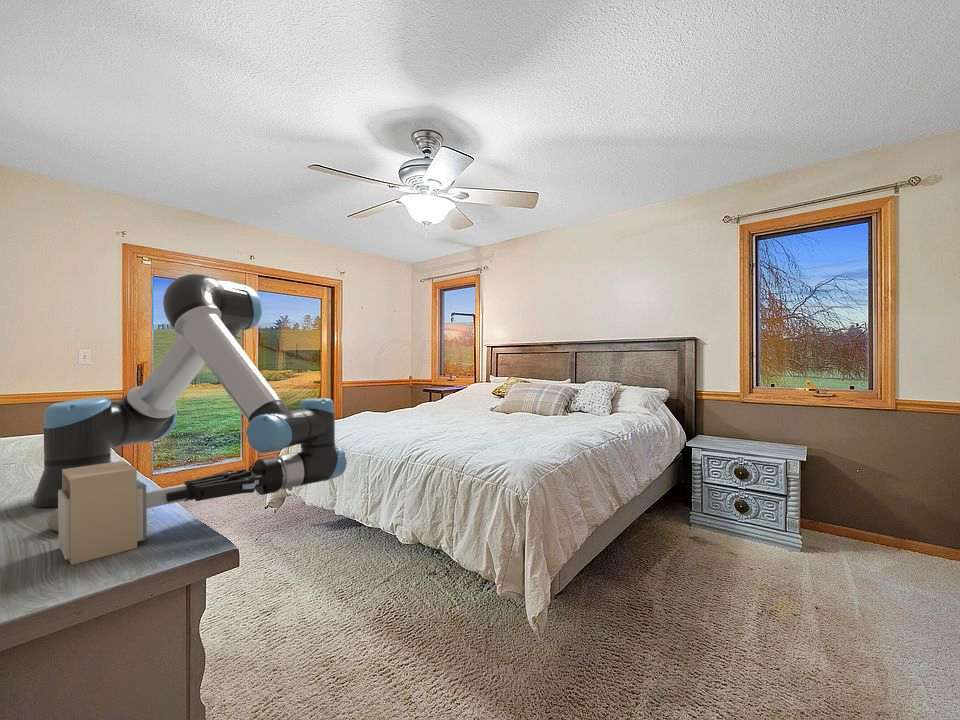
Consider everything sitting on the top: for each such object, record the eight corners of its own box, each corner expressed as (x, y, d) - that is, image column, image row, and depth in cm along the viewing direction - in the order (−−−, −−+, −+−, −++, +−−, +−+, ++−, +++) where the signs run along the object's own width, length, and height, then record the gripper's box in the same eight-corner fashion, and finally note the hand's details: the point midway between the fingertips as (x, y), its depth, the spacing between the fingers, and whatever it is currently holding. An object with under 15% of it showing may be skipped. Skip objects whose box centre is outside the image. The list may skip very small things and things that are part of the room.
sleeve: (123, 532, 79) (122, 460, 79) (137, 547, 71) (136, 468, 72) (62, 546, 73) (62, 469, 73) (71, 565, 65) (70, 478, 66)
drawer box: (134, 526, 79) (133, 477, 79) (146, 538, 73) (146, 485, 73) (58, 544, 72) (58, 489, 72) (65, 559, 65) (64, 500, 66)
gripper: (291, 496, 90) (151, 530, 72) (264, 486, 98) (133, 514, 80) (290, 459, 90) (151, 485, 72) (263, 453, 98) (133, 474, 81)
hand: (142, 500), depth 76 cm, fingers closed
